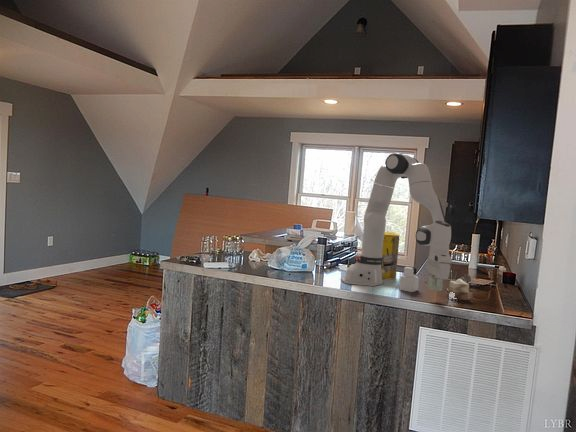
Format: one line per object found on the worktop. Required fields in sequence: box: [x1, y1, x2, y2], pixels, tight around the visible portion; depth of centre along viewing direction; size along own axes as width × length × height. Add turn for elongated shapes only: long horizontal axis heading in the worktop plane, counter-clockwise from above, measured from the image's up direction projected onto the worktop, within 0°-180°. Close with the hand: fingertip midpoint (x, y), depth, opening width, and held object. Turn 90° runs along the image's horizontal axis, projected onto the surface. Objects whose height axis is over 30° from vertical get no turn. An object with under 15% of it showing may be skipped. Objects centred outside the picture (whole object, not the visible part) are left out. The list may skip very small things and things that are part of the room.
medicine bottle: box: [398, 266, 420, 293], centre depth 242 cm, size 7×7×12 cm
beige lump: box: [447, 287, 469, 301], centre depth 232 cm, size 7×7×4 cm
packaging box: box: [381, 231, 400, 280], centre depth 276 cm, size 16×16×25 cm
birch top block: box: [448, 280, 470, 294], centre depth 231 cm, size 7×7×4 cm
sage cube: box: [427, 276, 444, 292], centre depth 223 cm, size 5×5×5 cm
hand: (435, 284), depth 223 cm, fingers closed on sage cube, 5 cm apart
